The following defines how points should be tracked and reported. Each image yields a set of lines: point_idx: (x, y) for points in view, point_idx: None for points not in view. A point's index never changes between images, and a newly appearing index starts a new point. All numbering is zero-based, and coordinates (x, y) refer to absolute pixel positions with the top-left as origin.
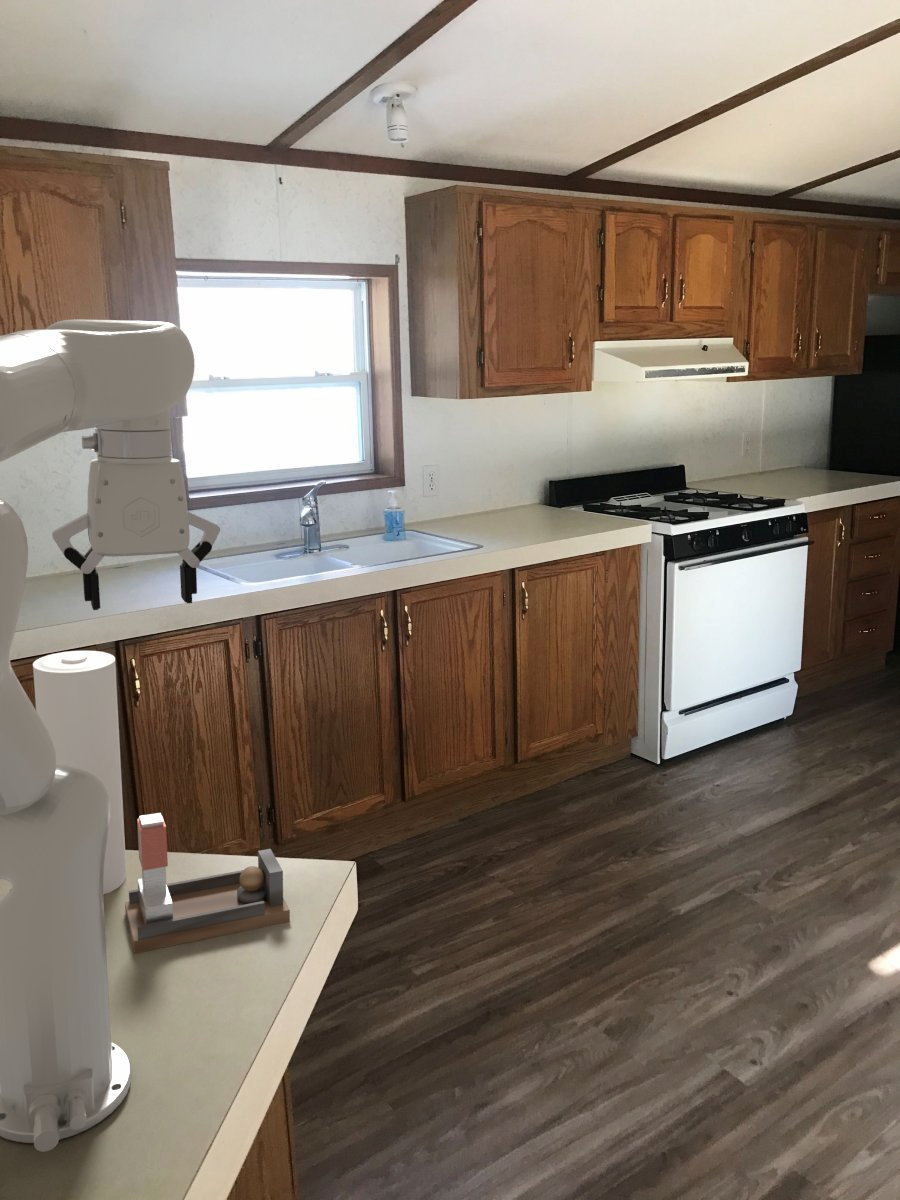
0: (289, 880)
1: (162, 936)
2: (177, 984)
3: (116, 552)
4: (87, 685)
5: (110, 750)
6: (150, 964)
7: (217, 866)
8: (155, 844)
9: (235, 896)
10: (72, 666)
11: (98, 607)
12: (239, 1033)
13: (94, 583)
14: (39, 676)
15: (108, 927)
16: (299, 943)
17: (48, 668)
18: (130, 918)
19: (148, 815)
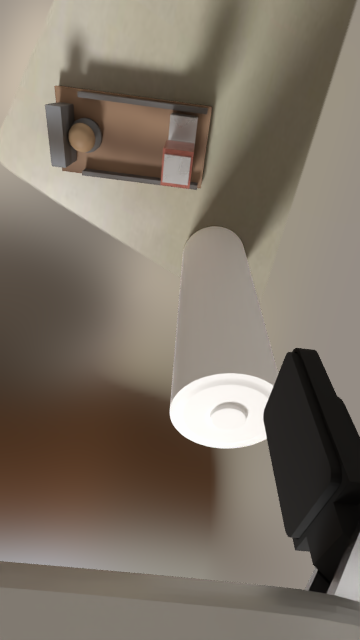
0: (47, 169)
1: (185, 103)
2: (190, 16)
3: (292, 633)
4: (224, 356)
5: (193, 302)
6: (203, 75)
7: (107, 227)
8: (178, 146)
9: (103, 145)
10: (240, 394)
11: (296, 354)
12: None
13: (343, 434)
14: None
15: (219, 168)
16: (56, 30)
17: None
18: (203, 155)
19: (177, 181)
